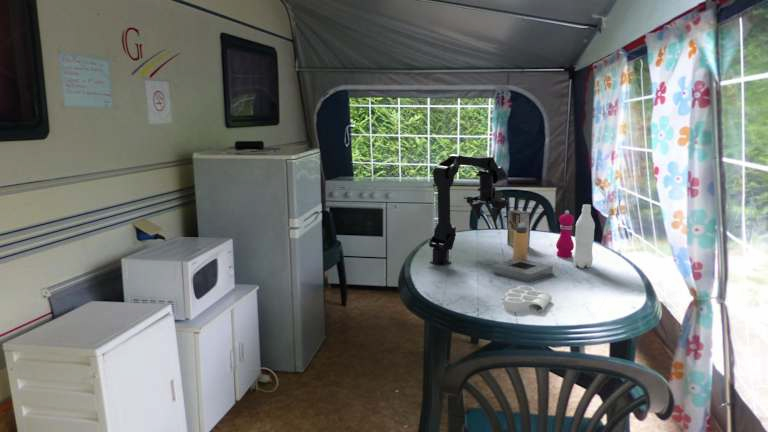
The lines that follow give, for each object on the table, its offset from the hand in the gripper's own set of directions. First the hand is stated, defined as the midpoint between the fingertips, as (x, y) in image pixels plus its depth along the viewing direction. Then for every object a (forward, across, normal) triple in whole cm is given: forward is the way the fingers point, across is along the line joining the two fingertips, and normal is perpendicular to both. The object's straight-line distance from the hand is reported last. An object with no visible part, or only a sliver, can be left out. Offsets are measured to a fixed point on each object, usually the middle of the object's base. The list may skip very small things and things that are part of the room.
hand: (486, 220), depth 232 cm
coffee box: (+16, -2, -19) cm, 25 cm away
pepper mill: (+16, -26, -20) cm, 36 cm away
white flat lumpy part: (+12, -51, +41) cm, 66 cm away
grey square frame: (+13, -30, +14) cm, 36 cm away
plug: (+14, -18, 0) cm, 23 cm away
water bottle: (+15, -39, -12) cm, 44 cm away
